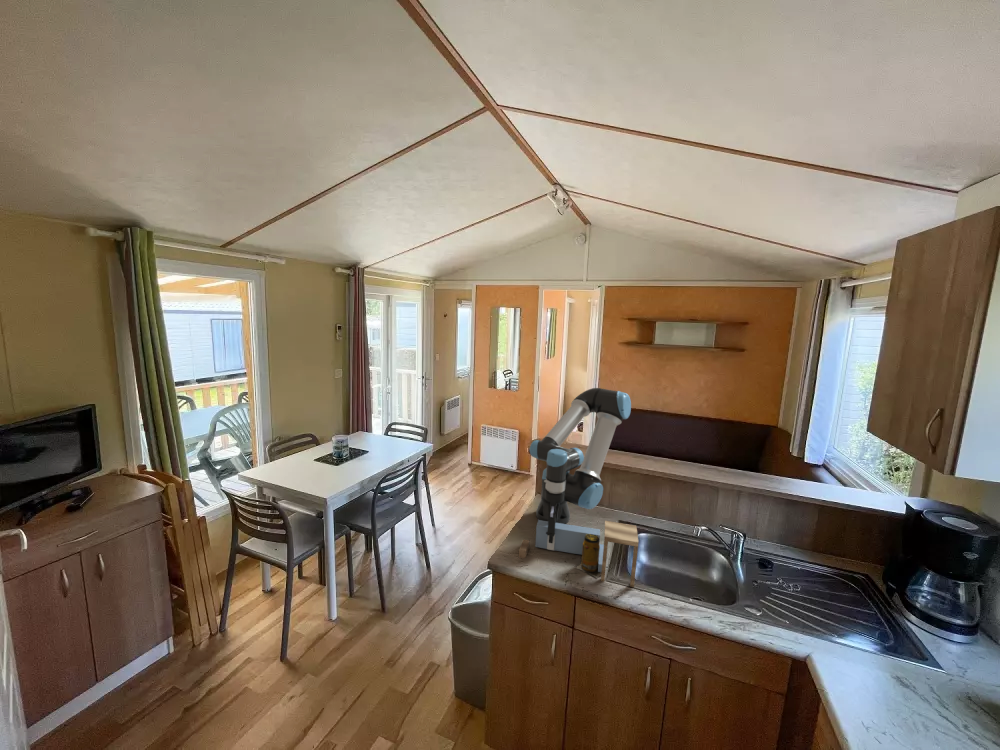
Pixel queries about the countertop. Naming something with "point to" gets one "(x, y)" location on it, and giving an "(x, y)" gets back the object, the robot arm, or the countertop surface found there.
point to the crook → (567, 538)
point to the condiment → (590, 555)
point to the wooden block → (524, 548)
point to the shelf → (622, 536)
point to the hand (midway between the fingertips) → (551, 545)
